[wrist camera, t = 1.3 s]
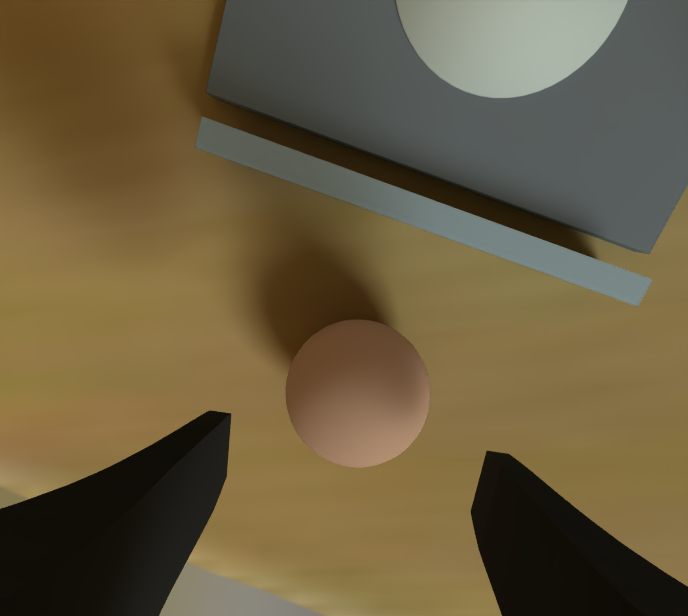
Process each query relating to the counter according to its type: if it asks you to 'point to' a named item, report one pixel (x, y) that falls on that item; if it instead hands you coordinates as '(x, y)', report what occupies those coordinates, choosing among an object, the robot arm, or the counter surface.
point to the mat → (484, 96)
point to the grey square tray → (419, 211)
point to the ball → (357, 393)
